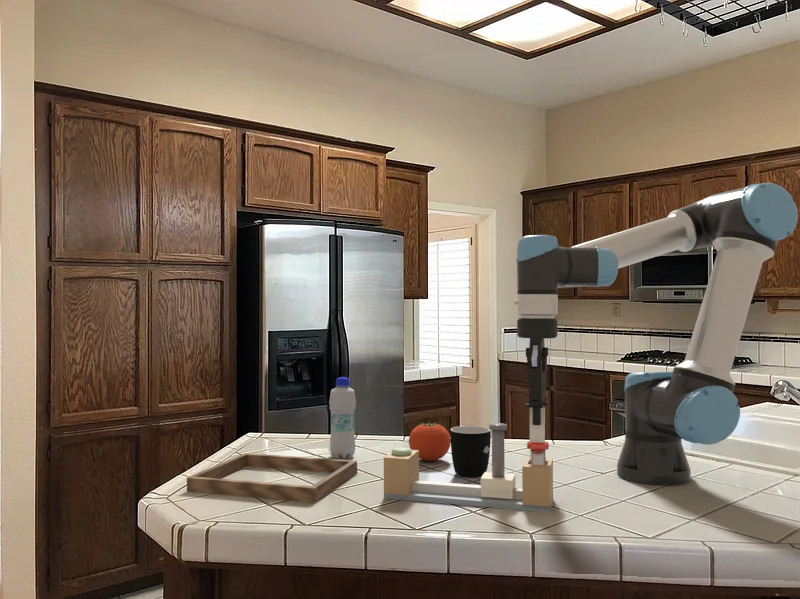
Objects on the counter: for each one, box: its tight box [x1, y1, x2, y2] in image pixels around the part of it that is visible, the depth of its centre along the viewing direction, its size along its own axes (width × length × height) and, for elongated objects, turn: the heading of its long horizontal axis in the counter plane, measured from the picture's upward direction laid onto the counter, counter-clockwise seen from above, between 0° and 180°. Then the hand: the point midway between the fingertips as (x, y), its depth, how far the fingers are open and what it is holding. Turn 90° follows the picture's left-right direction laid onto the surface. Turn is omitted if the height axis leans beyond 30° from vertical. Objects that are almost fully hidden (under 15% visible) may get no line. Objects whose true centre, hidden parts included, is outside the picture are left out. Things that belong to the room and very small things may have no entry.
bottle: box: [328, 376, 357, 460], centre depth 166 cm, size 7×7×20 cm
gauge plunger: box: [526, 440, 550, 465], centre depth 126 cm, size 4×4×9 cm
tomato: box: [408, 419, 451, 462], centre depth 162 cm, size 10×10×10 cm
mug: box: [449, 425, 492, 479], centre depth 150 cm, size 12×9×10 cm
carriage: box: [480, 422, 517, 499], centre depth 128 cm, size 6×5×14 cm
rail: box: [383, 447, 554, 513], centre depth 130 cm, size 32×8×9 cm, turn 73°
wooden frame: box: [186, 452, 358, 504], centre depth 143 cm, size 28×23×3 cm
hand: (537, 441), depth 126 cm, fingers closed
